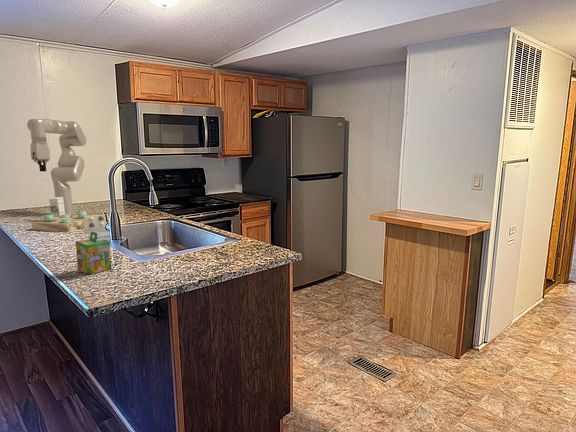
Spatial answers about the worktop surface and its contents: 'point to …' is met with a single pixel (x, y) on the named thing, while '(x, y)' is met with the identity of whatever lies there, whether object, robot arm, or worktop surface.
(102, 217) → the plaque
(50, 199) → the syrup box
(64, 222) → the button
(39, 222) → the board
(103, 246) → the chalk box
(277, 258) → the worktop surface
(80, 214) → the button
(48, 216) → the button
